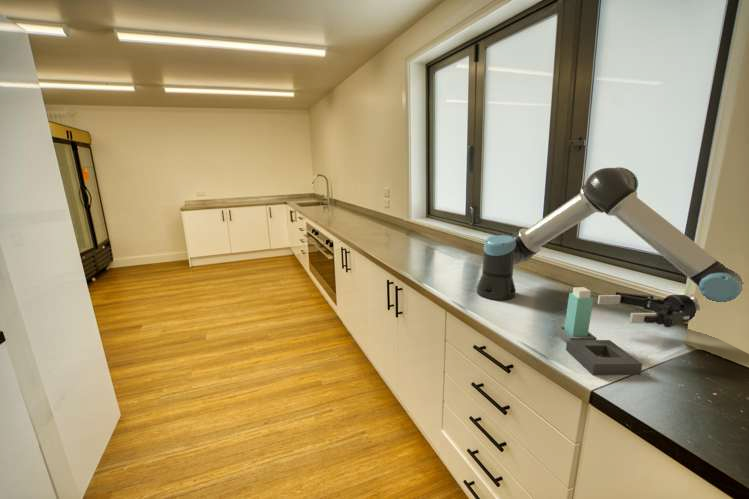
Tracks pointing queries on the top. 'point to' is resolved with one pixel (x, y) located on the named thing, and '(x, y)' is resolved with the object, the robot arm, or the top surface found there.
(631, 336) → the top surface
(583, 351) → the port block
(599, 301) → the robot arm
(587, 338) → the grey square plate
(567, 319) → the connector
